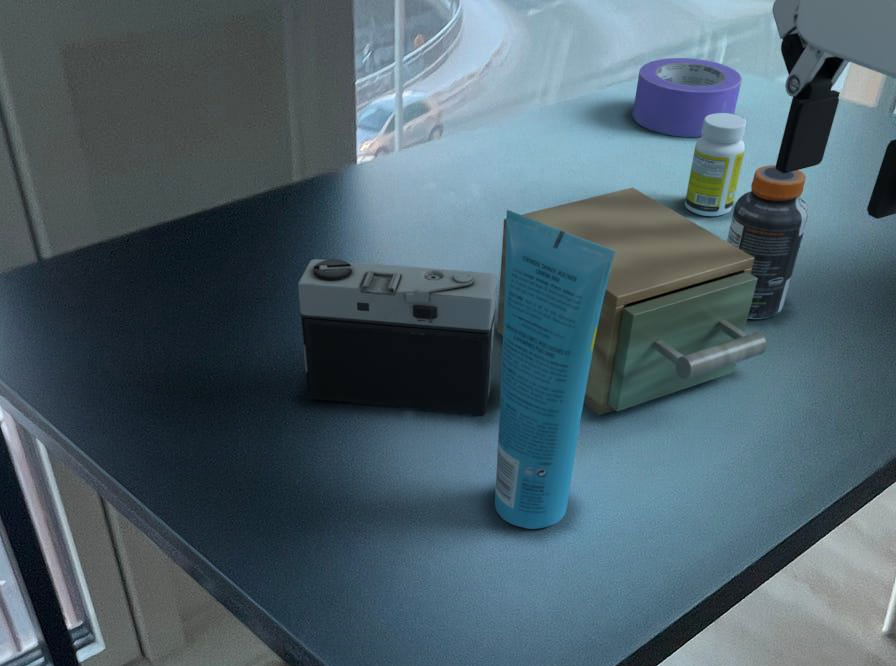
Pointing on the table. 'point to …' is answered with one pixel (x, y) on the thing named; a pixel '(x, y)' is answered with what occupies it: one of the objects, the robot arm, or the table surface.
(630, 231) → the cabinet
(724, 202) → the supplement bottle
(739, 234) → the pill bottle
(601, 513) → the table surface
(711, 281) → the drawer
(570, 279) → the tube
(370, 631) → the table surface
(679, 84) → the tape roll
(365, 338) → the camera
